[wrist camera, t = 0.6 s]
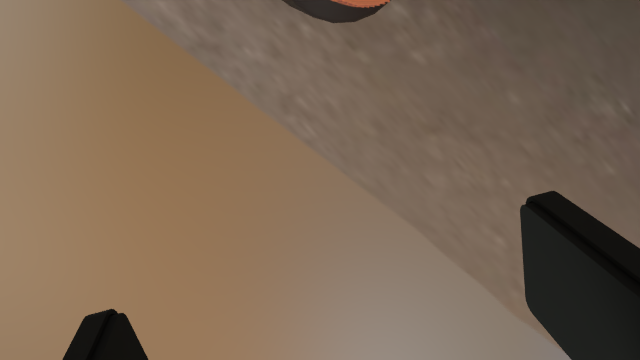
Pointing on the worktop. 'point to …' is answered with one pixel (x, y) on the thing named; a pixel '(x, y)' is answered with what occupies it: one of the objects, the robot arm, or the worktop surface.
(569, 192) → the worktop surface
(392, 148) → the worktop surface
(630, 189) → the worktop surface
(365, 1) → the vinegar
